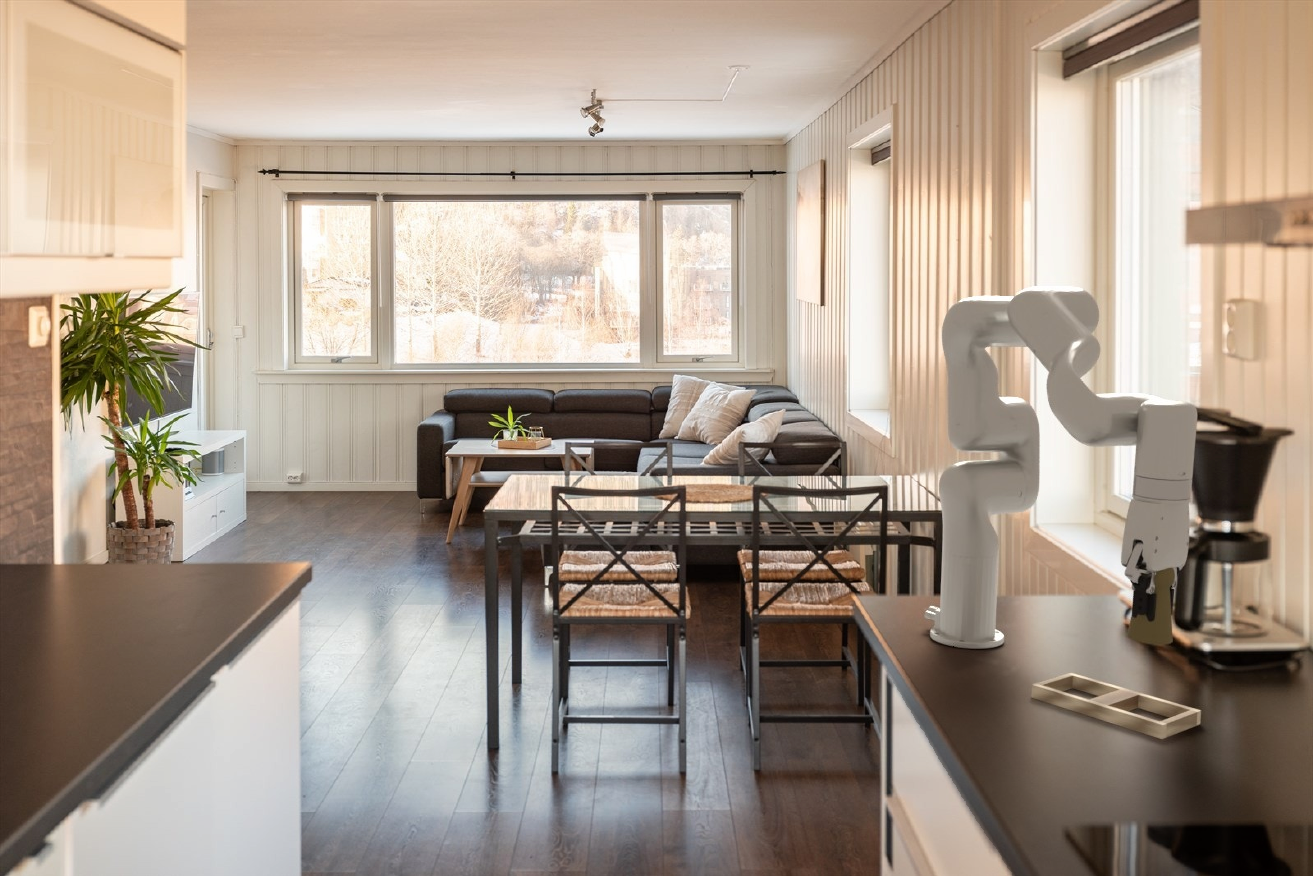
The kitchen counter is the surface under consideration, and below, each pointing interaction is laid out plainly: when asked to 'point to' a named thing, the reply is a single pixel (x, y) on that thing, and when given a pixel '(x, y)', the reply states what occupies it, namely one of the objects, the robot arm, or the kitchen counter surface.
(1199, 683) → the kitchen counter surface
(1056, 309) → the robot arm
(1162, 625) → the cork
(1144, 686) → the kitchen counter surface
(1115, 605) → the kitchen counter surface
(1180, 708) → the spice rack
